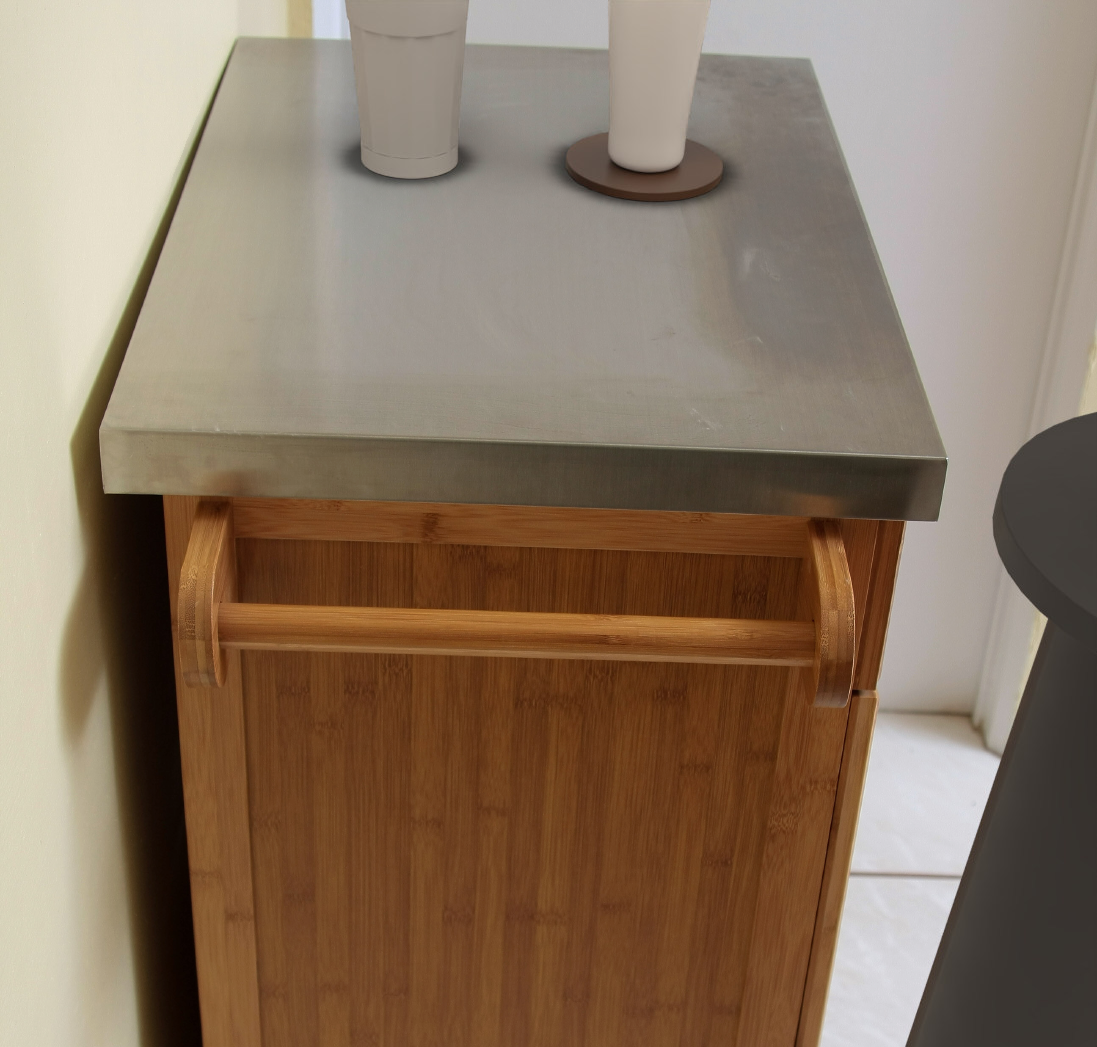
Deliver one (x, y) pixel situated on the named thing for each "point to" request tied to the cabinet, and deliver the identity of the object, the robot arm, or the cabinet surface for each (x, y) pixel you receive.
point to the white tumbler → (652, 79)
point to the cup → (408, 83)
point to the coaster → (605, 176)
